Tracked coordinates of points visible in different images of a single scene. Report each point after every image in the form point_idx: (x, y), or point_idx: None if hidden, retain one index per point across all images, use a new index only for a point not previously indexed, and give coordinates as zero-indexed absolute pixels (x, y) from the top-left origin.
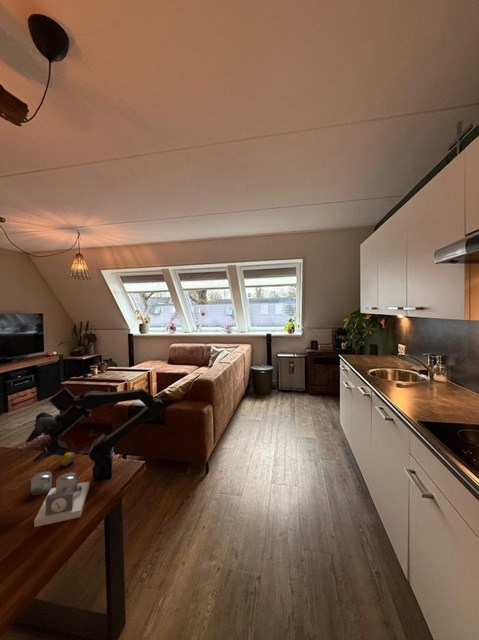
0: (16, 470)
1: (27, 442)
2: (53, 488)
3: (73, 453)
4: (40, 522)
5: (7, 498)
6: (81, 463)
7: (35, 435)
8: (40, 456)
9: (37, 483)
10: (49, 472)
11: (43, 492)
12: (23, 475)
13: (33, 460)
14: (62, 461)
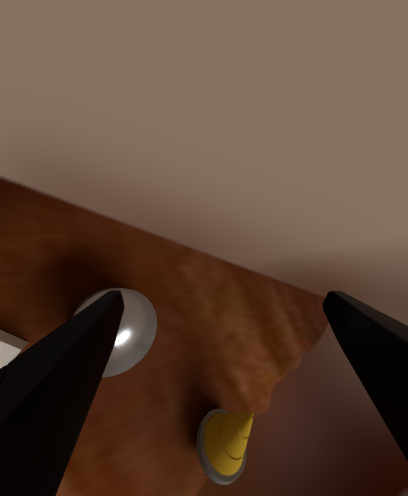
0: (264, 295)
1: (324, 301)
2: (3, 359)
3: (226, 483)
4: None
5: (152, 237)
6: (174, 490)
7: (394, 381)
8: (24, 353)
9: (83, 303)
10: (121, 367)
11: None
12: (234, 300)
13: (111, 291)
14: (215, 419)
